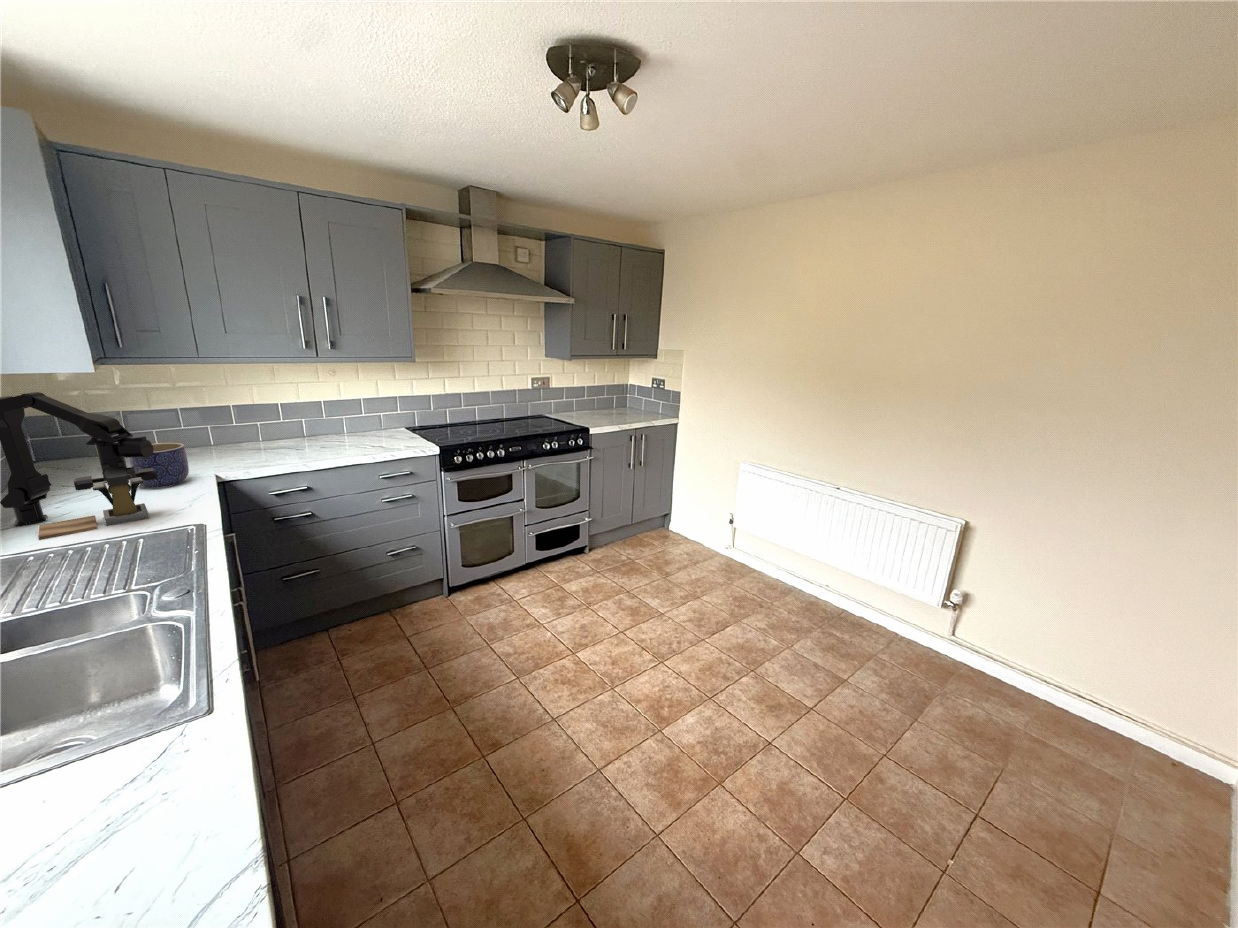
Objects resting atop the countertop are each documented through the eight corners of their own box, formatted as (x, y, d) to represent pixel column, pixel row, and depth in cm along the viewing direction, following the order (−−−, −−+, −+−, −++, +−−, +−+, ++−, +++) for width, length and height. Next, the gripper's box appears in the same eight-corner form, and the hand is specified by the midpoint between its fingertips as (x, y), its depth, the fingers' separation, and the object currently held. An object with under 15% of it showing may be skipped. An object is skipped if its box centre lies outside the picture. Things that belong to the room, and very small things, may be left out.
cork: (108, 518, 158) (100, 486, 155) (121, 512, 164) (113, 480, 161) (131, 517, 160) (123, 485, 157) (143, 511, 166) (135, 480, 163)
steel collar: (104, 517, 162) (102, 510, 161) (146, 509, 169) (144, 503, 168) (106, 526, 155) (104, 519, 155) (149, 518, 163) (147, 511, 162)
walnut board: (40, 527, 153) (39, 524, 152) (95, 518, 161) (95, 515, 161) (39, 540, 145) (38, 536, 145) (97, 529, 153) (96, 526, 153)
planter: (126, 492, 184) (117, 454, 180) (148, 479, 199) (139, 443, 195) (182, 488, 190) (173, 451, 186) (198, 476, 205) (191, 441, 201)
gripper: (68, 468, 145) (82, 517, 149) (154, 458, 158) (164, 503, 162) (68, 460, 152) (81, 507, 156) (150, 451, 165) (160, 494, 170)
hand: (123, 503), depth 161 cm, fingers closed on cork, 4 cm apart
